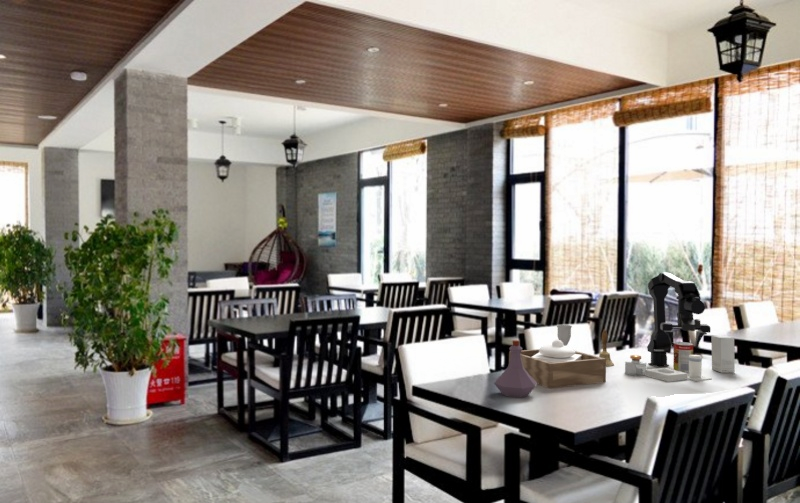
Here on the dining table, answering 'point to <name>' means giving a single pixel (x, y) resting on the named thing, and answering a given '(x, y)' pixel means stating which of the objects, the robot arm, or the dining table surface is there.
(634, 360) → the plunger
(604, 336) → the hand bell
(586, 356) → the wooden tray box
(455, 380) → the dining table surface
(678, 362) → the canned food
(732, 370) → the skincare box
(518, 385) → the flask
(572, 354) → the butter dish
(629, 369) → the plunger block
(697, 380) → the mat
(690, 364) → the white cylinder
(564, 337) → the chalice
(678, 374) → the white flat block
